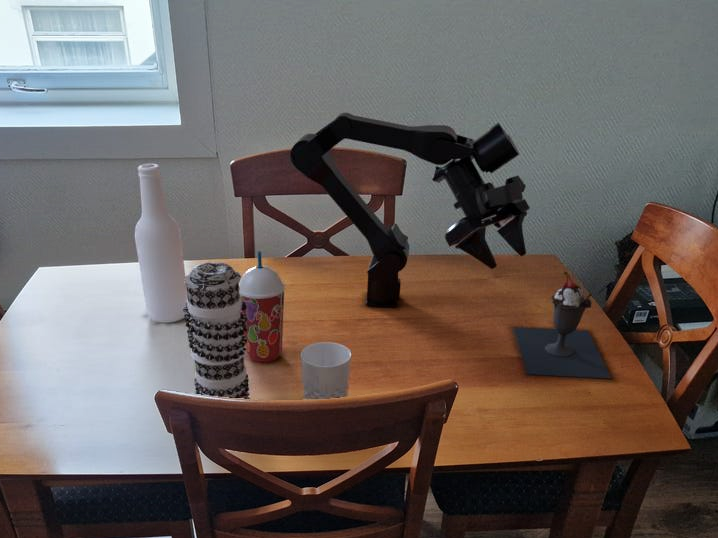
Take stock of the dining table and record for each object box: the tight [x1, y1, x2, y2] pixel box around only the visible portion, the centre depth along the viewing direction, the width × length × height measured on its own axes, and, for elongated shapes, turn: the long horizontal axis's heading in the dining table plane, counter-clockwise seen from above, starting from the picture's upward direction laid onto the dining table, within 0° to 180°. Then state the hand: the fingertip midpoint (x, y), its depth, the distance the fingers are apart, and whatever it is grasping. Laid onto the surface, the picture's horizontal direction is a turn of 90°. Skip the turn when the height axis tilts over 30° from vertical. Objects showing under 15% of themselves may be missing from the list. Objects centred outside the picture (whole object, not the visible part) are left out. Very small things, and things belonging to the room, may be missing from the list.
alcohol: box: [134, 163, 188, 324], centre depth 128 cm, size 9×9×30 cm
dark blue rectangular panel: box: [512, 326, 613, 380], centre depth 120 cm, size 14×18×1 cm
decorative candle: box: [183, 261, 251, 400], centre depth 99 cm, size 9×9×25 cm
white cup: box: [300, 341, 352, 400], centre depth 104 cm, size 8×8×10 cm
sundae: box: [545, 271, 592, 357], centre depth 116 cm, size 7×7×15 cm
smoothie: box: [239, 250, 286, 363], centre depth 116 cm, size 8×8×20 cm
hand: (509, 261), depth 121 cm, fingers open, 9 cm apart
